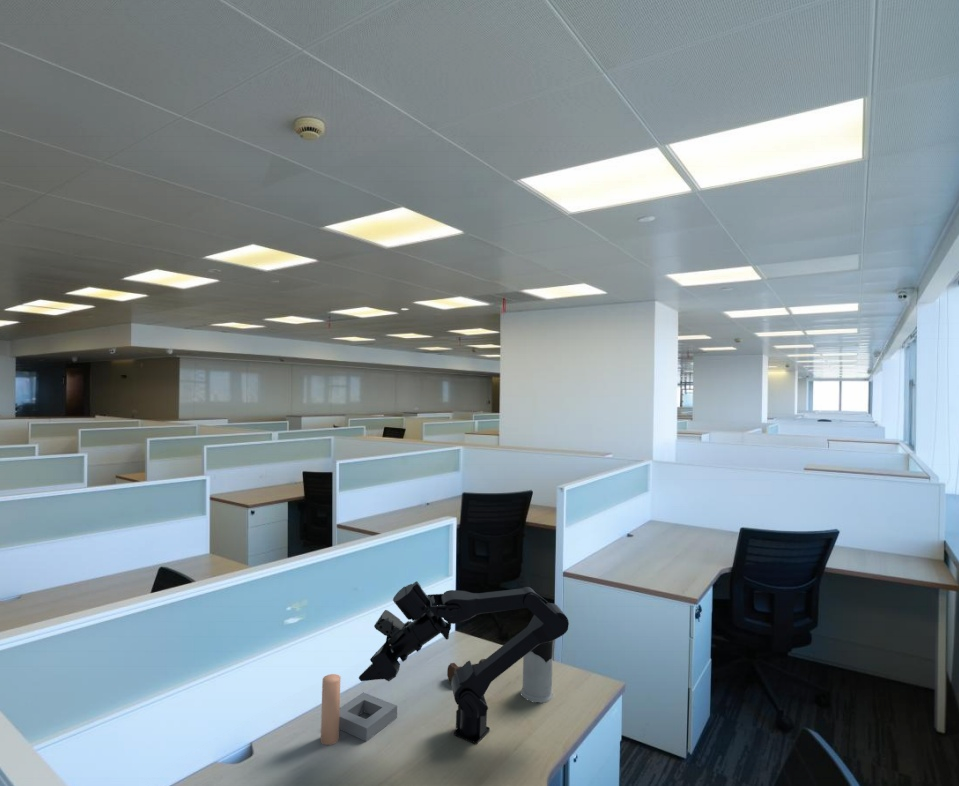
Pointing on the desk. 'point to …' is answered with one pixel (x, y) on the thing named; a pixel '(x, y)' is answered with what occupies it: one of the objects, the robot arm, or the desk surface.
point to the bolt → (452, 670)
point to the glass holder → (538, 673)
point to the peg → (330, 709)
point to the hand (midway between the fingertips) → (365, 669)
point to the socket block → (368, 727)
